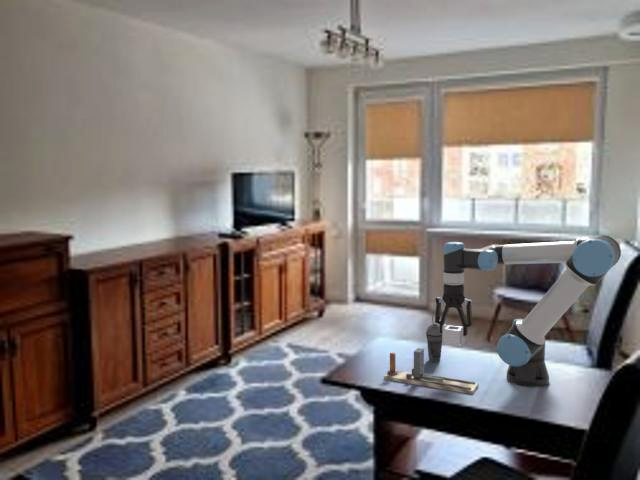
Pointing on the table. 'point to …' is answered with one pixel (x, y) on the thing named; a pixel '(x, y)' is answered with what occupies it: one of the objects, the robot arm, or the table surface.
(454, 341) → the link
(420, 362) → the grey l-shaped block
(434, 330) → the beverage cup
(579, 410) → the table surface
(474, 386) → the board
